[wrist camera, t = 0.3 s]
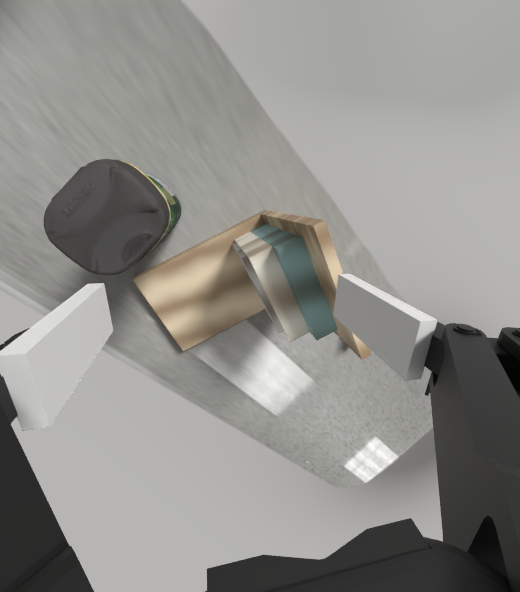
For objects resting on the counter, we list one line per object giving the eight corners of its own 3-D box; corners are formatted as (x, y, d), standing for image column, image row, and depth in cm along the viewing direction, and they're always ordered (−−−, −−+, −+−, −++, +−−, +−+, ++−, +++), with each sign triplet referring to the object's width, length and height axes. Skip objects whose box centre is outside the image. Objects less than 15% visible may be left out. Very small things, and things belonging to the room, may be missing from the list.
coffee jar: (146, 256, 39) (102, 298, 22) (100, 215, 36) (7, 228, 19) (192, 210, 39) (183, 217, 21) (148, 164, 36) (96, 131, 18)
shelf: (135, 275, 40) (65, 352, 20) (264, 210, 41) (324, 220, 20) (184, 345, 45) (167, 461, 25) (297, 286, 46) (370, 355, 26)
